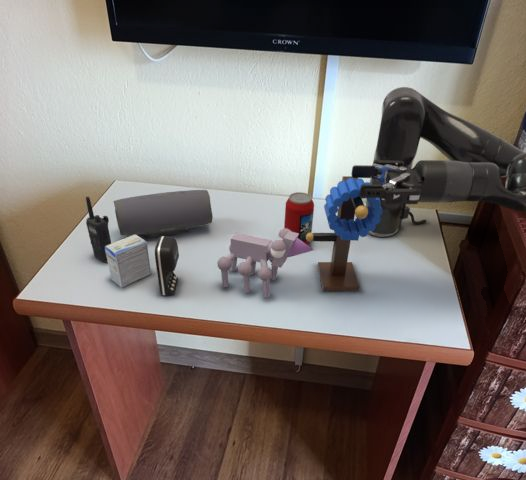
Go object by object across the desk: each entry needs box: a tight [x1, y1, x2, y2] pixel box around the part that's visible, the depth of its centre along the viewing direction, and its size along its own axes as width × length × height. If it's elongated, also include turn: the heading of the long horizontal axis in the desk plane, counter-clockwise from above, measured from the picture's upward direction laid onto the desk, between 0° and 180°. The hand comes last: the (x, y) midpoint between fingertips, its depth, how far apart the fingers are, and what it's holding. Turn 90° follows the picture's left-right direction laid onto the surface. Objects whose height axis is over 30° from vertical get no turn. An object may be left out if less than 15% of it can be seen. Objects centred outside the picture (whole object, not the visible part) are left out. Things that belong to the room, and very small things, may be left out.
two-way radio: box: [85, 196, 112, 263], centre depth 114 cm, size 6×4×15 cm
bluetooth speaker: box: [113, 189, 214, 237], centre depth 125 cm, size 23×9×10 cm, turn 108°
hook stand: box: [306, 175, 368, 292], centre depth 104 cm, size 17×12×23 cm
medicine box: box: [105, 234, 152, 288], centre depth 110 cm, size 8×4×9 cm, turn 135°
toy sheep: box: [217, 228, 314, 298], centre depth 107 cm, size 20×11×14 cm, turn 70°
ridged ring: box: [323, 178, 383, 242], centre depth 98 cm, size 5×10×11 cm, turn 92°
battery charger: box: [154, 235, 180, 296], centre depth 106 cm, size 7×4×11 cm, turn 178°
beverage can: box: [283, 191, 315, 246], centre depth 122 cm, size 7×7×12 cm
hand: (355, 180), depth 94 cm, fingers open, 8 cm apart
